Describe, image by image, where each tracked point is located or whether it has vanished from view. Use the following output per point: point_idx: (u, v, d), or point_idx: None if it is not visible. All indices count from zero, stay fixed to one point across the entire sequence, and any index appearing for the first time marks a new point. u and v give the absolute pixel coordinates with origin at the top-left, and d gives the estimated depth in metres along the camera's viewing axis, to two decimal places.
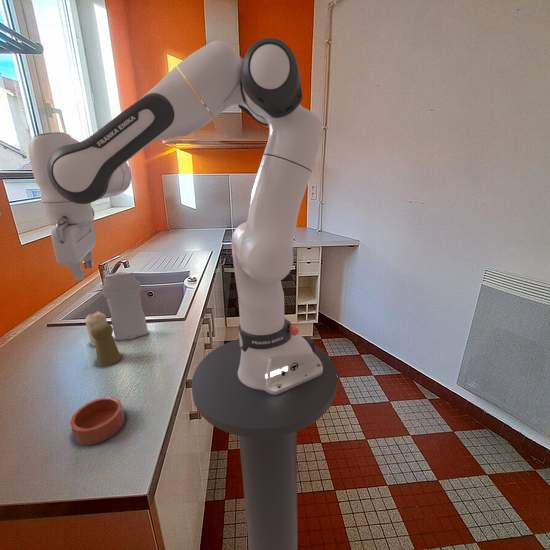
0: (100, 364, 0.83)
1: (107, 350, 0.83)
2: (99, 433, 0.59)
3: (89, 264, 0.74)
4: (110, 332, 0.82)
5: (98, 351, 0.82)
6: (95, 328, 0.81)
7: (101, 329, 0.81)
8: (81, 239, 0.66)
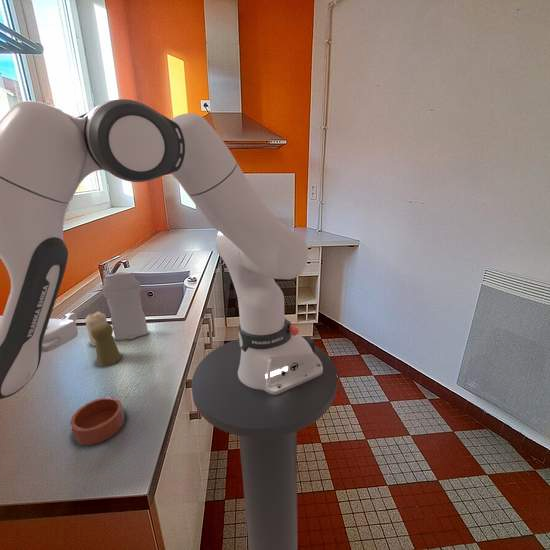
0: (100, 364, 0.83)
1: (107, 350, 0.83)
2: (99, 433, 0.59)
3: None
4: (110, 332, 0.82)
5: (98, 351, 0.82)
6: (95, 328, 0.81)
7: (101, 329, 0.81)
8: None
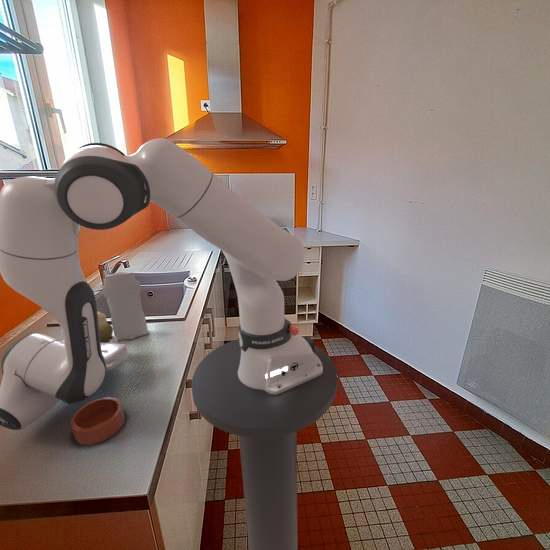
0: None
1: None
2: (99, 433, 0.59)
3: None
4: (110, 332, 0.82)
5: None
6: None
7: (101, 329, 0.81)
8: None
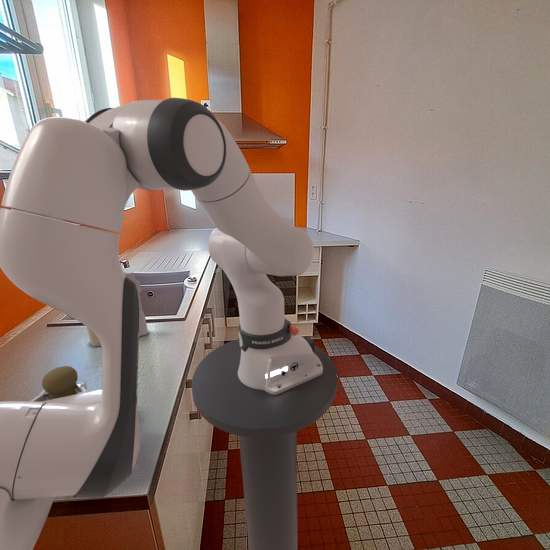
0: None
1: None
2: None
3: None
4: (76, 377, 0.54)
5: None
6: (51, 377, 0.52)
7: (62, 376, 0.52)
8: None
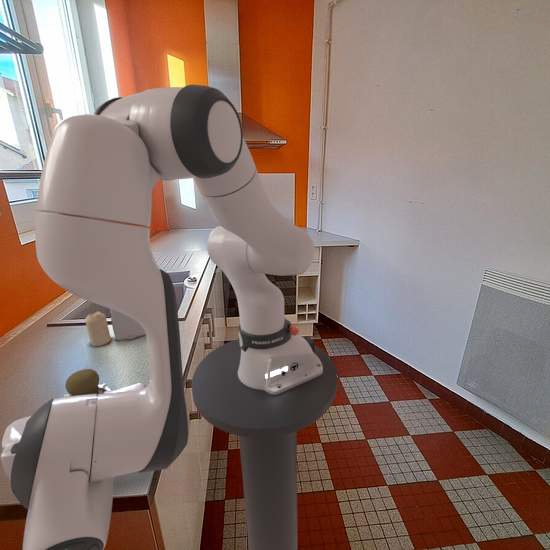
0: None
1: None
2: None
3: None
4: (98, 378, 0.56)
5: None
6: (75, 380, 0.53)
7: (87, 377, 0.54)
8: None
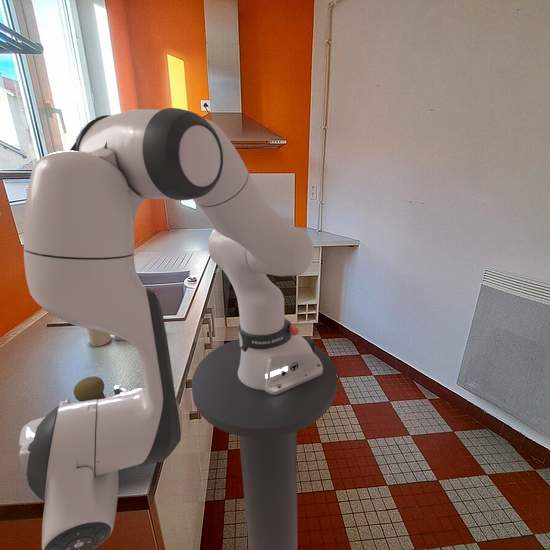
0: None
1: None
2: None
3: (68, 403, 0.59)
4: (103, 385, 0.61)
5: None
6: (83, 387, 0.58)
7: (93, 384, 0.59)
8: None
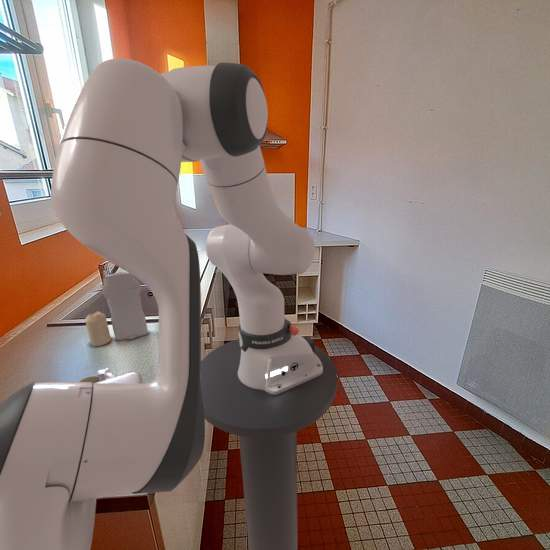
0: None
1: None
2: None
3: None
4: None
5: None
6: None
7: None
8: None
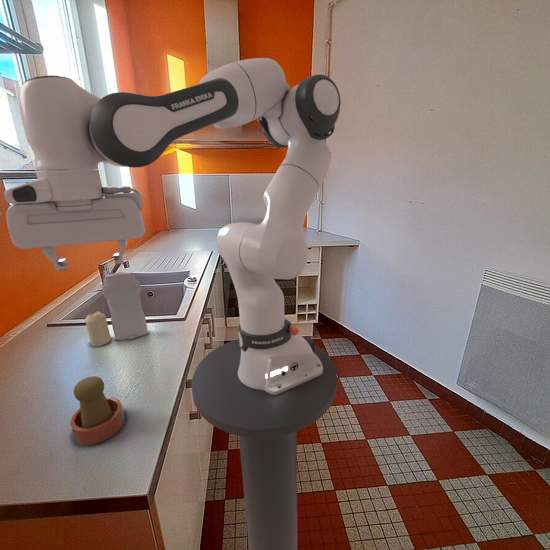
0: None
1: (103, 410, 0.61)
2: (99, 433, 0.59)
3: (65, 263, 0.54)
4: (103, 385, 0.61)
5: (91, 417, 0.59)
6: (83, 387, 0.58)
7: (93, 384, 0.59)
8: None
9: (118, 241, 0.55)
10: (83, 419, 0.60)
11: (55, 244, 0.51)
